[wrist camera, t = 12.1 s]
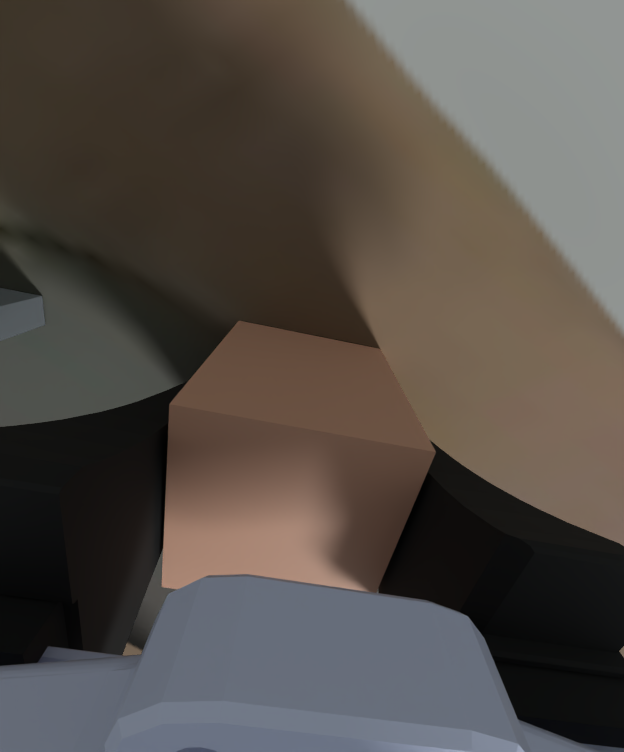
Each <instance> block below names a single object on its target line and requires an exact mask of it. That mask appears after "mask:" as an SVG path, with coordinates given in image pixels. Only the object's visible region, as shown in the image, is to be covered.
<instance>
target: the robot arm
mask: <svg viewBox="0 0 624 752" xmlns="http://www.w3.org/2000/svg"><path fill="white" fill-rule="evenodd" d="M187 382H188V381H187ZM187 382H185V383H183V384H180V385H178V386H176V387H174V388H171V389H169V390H167V391H164V392H162V393H159V394H156V395H154V396H151V397H148V398H146V399H143V400H140V401H138V402H135V403H131V404H128V405H125V406H121V407H118V408H114V409H110V410H107V411H103V412H98V413H93V414H88V415H83V416H78V417H73V418H68V419H63V420H56V421H49V422H42V423H34V424H26V425H17V426H6V427H0V752H624V658H623V656H622V655H621V653H620V652H619V650H620V649H621V648H622V647H623V646H624V546H622V545H621V544H619V543H616V542H614V541H612V540H609V539H607V538H604V537H602V536H599V535H597V534H594V533H592V532H589V531H587V530H584V529H582V528H579V527H577V526H575V525H572V524H570V523H567V522H565V521H563V520H561V519H558V518H556V517H554V516H552V515H550V514H548V513H546V512H543V511H541V510H539V509H537V508H535V507H533V506H531V505H529V504H527V503H525V502H523V501H521V500H519V499H517V498H516V497H514V496H512V495H510V494H508V493H507V492H505V491H503V490H501V489H499V488H498V487H496V486H494V485H492V484H491V483H489V482H487V481H486V480H484V479H483V478H481V477H479V476H478V475H476V474H475V473H473V472H472V471H470V470H469V469H467V468H466V467H464V466H463V465H461V464H460V463H459V462H457V461H456V460H454V459H453V458H452V457H450V456H449V455H448V454H447V453H445V452H444V451H443V450H441V449H440V448H439V447H438V446H436V445H435V444H434V443H433V442H431V441H430V442H431V444H432V446H433V447H434V449H435V451H436V453H435V456H434V458H433V460H432V463H431V465H430V467H429V470H428V472H427V475H426V477H425V479H424V482H423V484H422V486H421V489H420V491H419V493H418V496H417V498H416V500H415V503H414V505H413V507H412V510H411V512H410V514H409V517H408V519H407V521H406V524H405V526H404V529H403V531H402V533H401V536H400V538H399V540H398V543H397V545H396V547H395V550H394V552H393V554H392V557H391V559H390V561H389V564H388V566H387V568H386V571H385V573H384V575H383V578H382V580H381V583H380V585H379V587H378V589H379V593H374V592H367V591H360V590H353V589H346V588H340V587H333V586H326V585H319V584H312V583H305V582H299V581H292V580H285V579H278V578H271V577H264V576H258V575H251V574H234V575H208V576H205V577H203V578H201V579H199V580H196V581H194V582H192V583H190V584H188V585H186V586H184V587H182V588H180V589H178V590H176V591H174V592H172V593H169V594H168V595H167V597H166V599H165V601H164V603H163V605H162V607H161V609H160V611H159V613H158V615H157V617H156V619H155V622H154V624H153V627H152V629H151V632H150V634H149V636H148V639H147V641H146V644H145V646H144V649H143V651H142V654H141V655H130V656H122V654H123V652H124V649H125V646H126V643H127V641H128V638H129V635H130V632H131V630H132V627H133V624H134V622H135V619H136V616H137V614H138V611H139V608H140V606H141V603H142V601H143V598H144V595H145V593H146V590H147V587H148V585H149V582H150V580H151V577H152V575H153V572H154V570H155V567H156V565H157V562H158V559H159V557H160V554H161V552H162V549H163V544H164V520H165V496H166V472H167V448H168V424H169V404H170V403H171V401H172V400H173V399H174V398H175V397H176V395H177V394H178V393H179V392H180V391H181V389H182V388H183V387H184V386H185V385H186V383H187Z"/></svg>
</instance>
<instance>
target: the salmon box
mask: <svg viewBox="0 0 624 752" xmlns="http://www.w3.org/2000/svg"><path fill="white" fill-rule="evenodd" d="M435 453H436V451H435V449H434V447H433V446H432V444H431V442H430V440H429V438H428V436H427V434H426V433H425V431H424V429H423V427H422V425H421V423H420V422H419V420H418V418H417V416H416V414H415V412H414V410H413V409H412V407H411V405H410V403H409V401H408V399H407V397H406V396H405V394H404V392H403V390H402V388H401V386H400V385H399V383H398V381H397V379H396V377H395V375H394V373H393V372H392V370H391V368H390V366H389V364H388V362H387V360H386V359H385V357H384V355H383V353H382V351H381V349H378V348H373V347H368V346H363V345H358V344H353V343H348V342H343V341H338V340H333V339H328V338H323V337H318V336H313V335H308V334H303V333H298V332H293V331H288V330H284V329H279V328H274V327H269V326H264V325H259V324H254V323H249V322H244V321H238V322H237V323H236V324H235V326H234V327H233V328H232V329H231V330H230V332H229V333H228V334H227V335H226V336H225V338H224V339H223V340H222V341H221V342H220V344H219V345H218V346H217V347H216V349H215V350H214V351H213V352H212V353H211V355H210V356H209V357H208V358H207V359H206V361H205V362H204V363H203V364H202V365H201V367H200V368H199V369H198V370H197V371H196V373H195V374H194V375H193V376H192V377H191V379H190V380H189V381H188V382H187V383H186V385H185V386H184V387H183V388H182V389H181V391H180V392H179V393H178V394H177V395H176V397H175V398H174V399H173V400H172V401H171V403H170V404H169V424H168V448H167V472H166V496H165V520H164V544H163V568H162V587H165V588H173V589H180V588H182V587H184V586H186V585H188V584H190V583H192V582H194V581H196V580H199V579H201V578H203V577H205V576H208V575H234V574H251V575H258V576H264V577H271V578H278V579H285V580H292V581H299V582H305V583H312V584H319V585H326V586H333V587H340V588H346V589H353V590H360V591H367V592H374V593H376V592H377V590H378V587H379V585H380V583H381V580H382V578H383V575H384V573H385V571H386V568H387V566H388V564H389V561H390V559H391V557H392V554H393V552H394V550H395V547H396V545H397V543H398V540H399V538H400V536H401V533H402V531H403V529H404V526H405V524H406V521H407V519H408V517H409V514H410V512H411V510H412V507H413V505H414V503H415V500H416V498H417V496H418V493H419V491H420V489H421V486H422V484H423V482H424V479H425V477H426V475H427V472H428V470H429V467H430V465H431V463H432V460H433V458H434V456H435Z"/></svg>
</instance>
